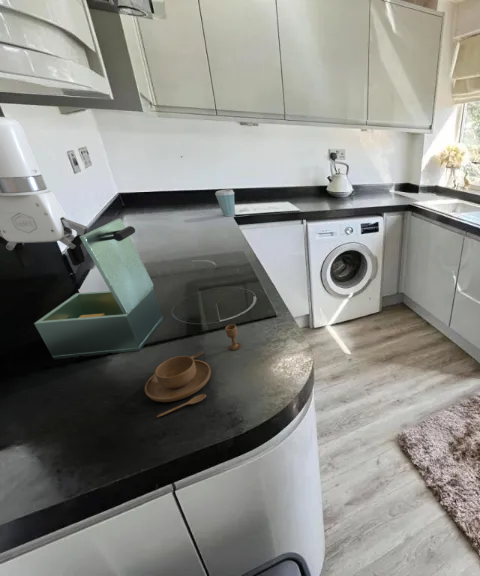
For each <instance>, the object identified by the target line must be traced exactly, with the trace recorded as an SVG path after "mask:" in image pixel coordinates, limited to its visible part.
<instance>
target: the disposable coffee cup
mask: <svg viewBox="0 0 480 576" xmlns="http://www.w3.org/2000/svg"><path fill="white" fill-rule="evenodd" d="M214 195H215V197H216V200H217V202H218V205H219V208H220V211H221V213H222V215H223V216H224V217H232V216H235V215H236V207H235V206H236V205H235V204H236V203H235V191H234V189H231V188H225V189H220V190H217V191H215V193H214Z"/></svg>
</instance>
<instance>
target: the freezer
mask: <svg viewBox="0 0 480 576" xmlns="http://www.w3.org/2000/svg"><path fill="white" fill-rule="evenodd" d="M103 313H104V315H105V316H97V317H85V318H79V317H80V316H81V315H91V314H103ZM163 321H164V316H163V313H162V311H161V307H160V304H159V301H158V298H157V295H156V293H155V289H154V287H153V288H152V289H151V290H150V291H149V292H148V293H147V294H146V295H145V296H144V297H143V298H142V299H141V300H140V301H139V302H138V303H137V304H136V305H135V306H134V307H133V308H132V309H131V310H130V311H129V312H128V313H127V314H123V312H122V310H121V308H120V307H119V305H118V303H117V302H116V300H115V298H114V296H113V295H112V293H111V291H110V290H104V291H101V290H100V291H89V292H76V293H74V294H73V295H72V296H70V297H69V298H68V299H66V300H65V301H64V302H62V303H60V304H59V305H58V306H56V307H55V308H54V309H52V310H51V311H50V312H48V313H46V314H45V315H44V316H43V317H41V318H39V319H38V320H37V321H36V322H34V323H33V324H34V326H35V328H36V330H37V332H38V333H39V336H40V337H41V339H42V340H43V342H44V344H45V346H46V348H47V350H48V352H49V354H50V355H51V358H52V359H53V360H62V359H72V358H71V357H73V358H80V357H79V356H83V357H91V356H102V355H109V354H108V353H112V354H121V353H132V352H141V350H142V349H143V347H144V346H145V344H146V343H147V342H148V341H149V339H150V338H151V337H150V336H152V335H153V334H154V333H155V331H156V330H157V328H158V327H159V326H160V325H161V323H162V322H163ZM153 332H154V333H153ZM147 340H148V341H147Z"/></svg>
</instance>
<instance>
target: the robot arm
mask: <svg viewBox="0 0 480 576" xmlns="http://www.w3.org/2000/svg"><path fill="white" fill-rule="evenodd" d="M88 229H89V228H88V226H86V225H84V224H82V223H79V222H75V221H73V220H70V219H68V216H67V214H66V213H65V211H64V208H63V207H62V205H61V203H60V202H59V200H58V198H57V197H56V195H55V194H54V193H53V191H52V190H48V187H47V184H46V182H45V180H44V177H43V175H42V172H41V170H40V168H39V165H38V162H37V160H36V157H35V155H34V152H33V150H32V148H31V145H30V142H29V140H28V138H27V135H26V132H25V130H24V128H23V126H22V124H21V123H20V122H19V121H18V120H16V119H14V118H13V117H8V116H0V244H1V245H3V246H5V248H6V249H7V250H8V251H12V254H13V255H14V257H15V260H16V262H17V263H18V265H19V267H20V268H26V267H29V266H31V265H32V264H35V259H34V257H33V255H32V252H31V250H30V248H29V247H28V246H27V245H25V244H27V243H29V244H30V243H54V242H55V243H56V242H60V243H62V244H63V245H65V246H66V247H68V248H66V252H67V254H68V256H69V259H70V262H71V265H73V266H80V265H81V264H83V263H84V262H85V261H86V260H85V259H86V258H85V254H84V252H83V248H82V247H81V246H82V245H83V242H82V240H81V239H80V236H82V235H85V234H87V233H88ZM73 231H75V233H76V236H75V234H73Z"/></svg>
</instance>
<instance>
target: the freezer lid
mask: <svg viewBox="0 0 480 576" xmlns="http://www.w3.org/2000/svg"><path fill="white" fill-rule="evenodd" d="M135 233H136V229H135V227H134V226H131V225H129V226H125V224H124V222H123V220H122V219H121V218H115V219H114V220H111V221H110V222H108V223H106V224H104V225H101V226H100V227H97V228H95V229H93V230H91V231H89V232H87V234H85V235H82V236H80V239H81V240H82V245H83V246H84V247H85V249H86V251H87V253H88V254H89V256H90V258H91V260H92V262H93V263H94V265H95V267H96V268H97V270H98V273H99V274H100V275H101V277H102V279H103V281H104V282H105V284H106V286H107V287H108V290H109V291H111V293H112V295H113V296H114V298H115V300H116V302H117V303H118V305H119V307H120V308H121V310H122V312H123V314H127V313H128V312H129V311H130V310H131V309H132V308H133V307H134V306H135V305H136V304H137V303H138V302H139V301H140V300H141V299H142V298H143V297H144V296H145V295H146V294H147V293H148V292H149V291H150V290H151V289H152V288H153V289H154V287H155V285H154V283H153V280H152V278H151V276H150V275H149V273H148V271H147V268H146V266H145V265H144V262H143V260H142V258H141V257H140V254H139V252H138V251H137V248H136V246H135V244H134V242H133V240H132V238H131V237H130V236H132V235H134V234H135Z"/></svg>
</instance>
